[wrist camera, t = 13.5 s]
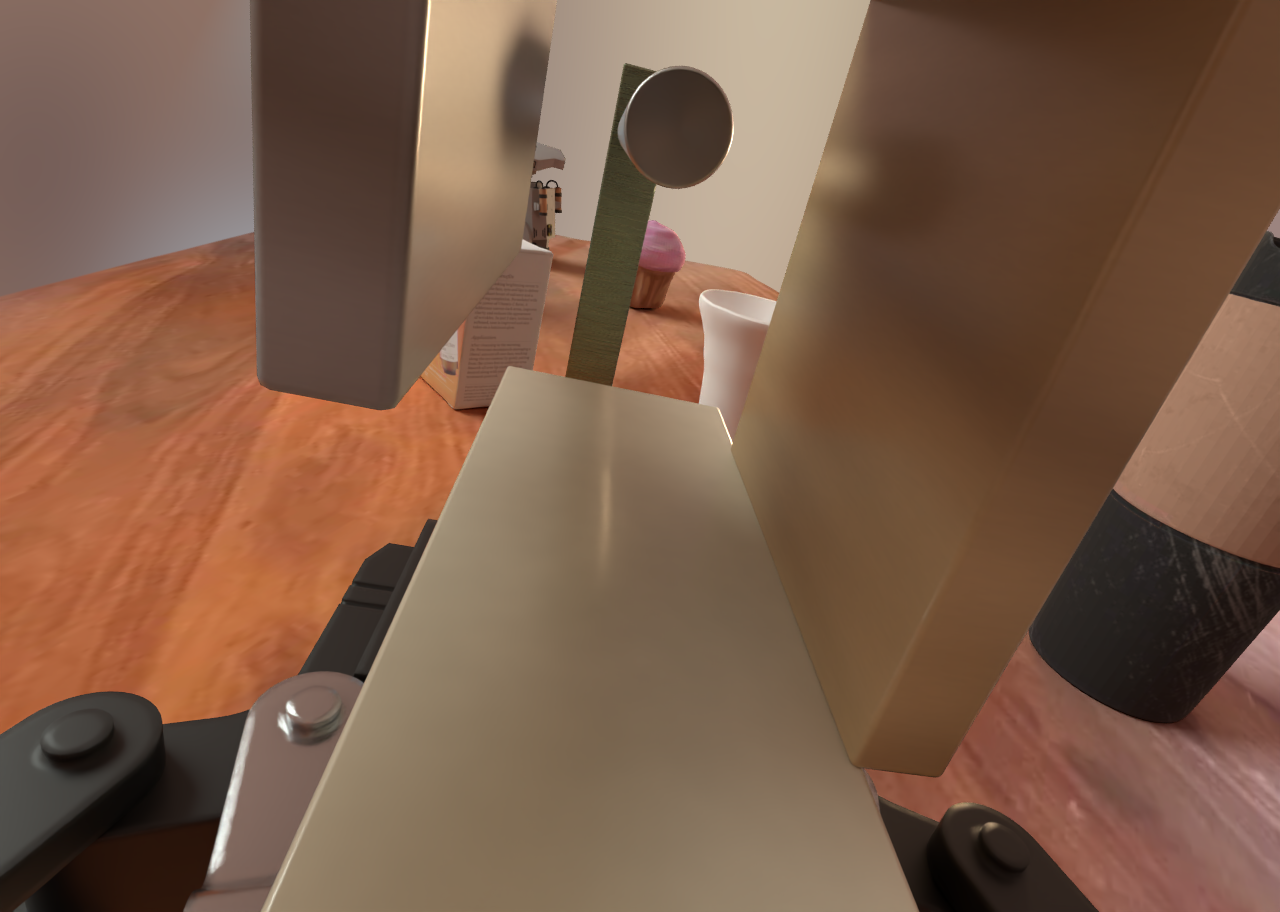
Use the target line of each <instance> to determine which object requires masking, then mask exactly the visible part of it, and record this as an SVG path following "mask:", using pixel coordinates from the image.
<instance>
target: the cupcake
mask: <svg viewBox="0 0 1280 912" xmlns="http://www.w3.org/2000/svg"><path fill="white" fill-rule="evenodd" d="M684 262H685V251H684V249H683V246H682V243H681V241H680V239H679V237H678V236H677V234H676V233H675V232H674V231H673V230H672V229H670V228H668V227H666V226H664V225H662V224H660V223H658V222H657V221H654V220H652V221H648V225H647V229H646V234H645V238H644V243H643V247H642V252H641V256H640V261H639V266H638V270H637V275H636V279H635V284H634V288H633V293H632V297H631V302H630V306H631V307H634V308H653V309H656V308H659V307H661V306H662V304H663V302H664V300H665V297H666V294H667V290H668V287H669V285H670V282H671V280H672V279H673V276H674V274H675V272H678V271H679V270H681V268H682V266H683V264H684Z"/></svg>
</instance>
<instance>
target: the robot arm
mask: <svg viewBox="0 0 1280 912" xmlns="http://www.w3.org/2000/svg"><path fill="white" fill-rule="evenodd" d="M437 521H438V520H432V519H428V520H427V522H426V524H425V526H424V528H423V530H422V532H421V534H420V536H419V538H418V541H417V543H416V545H415V547H410V546H403V545H397V544H391V543H389V544H387V545H386V546H384V547H383V548H381V549H380V550H378V551H377V552H375V553H374V554H372V555H371V556H369V557H368V558H367V559H365V561H364V562H363V564H362V566H361V567H360V569H359V571H358V573H357V574H356V576H355V578H354V579H353V582H352V585H350V586H349V588H348V590H347V591H346V593H345V595H344V597H343V598H342V602H341V604H339V605H338V607H337V609H336V610H335V612H334V614H333V616H332V617H331V619H330V621H329V622H328V624H327V626H326V628H325V629H324V631H323V633H322V634H321V636H320V638H319V640H318V641H317V643H316V645H315V646H314V648H313V650H312V652H311V653H310V655H309V657H308V659H307V660H306V662H305V664H304V665H303V667H302V669H301V671H300V672H299V674H298V675H297V676H294V677H291V678H288V679H286V680H284V681H282V682H280V683H278V684H276V685H275V686H273V687H271V688H270V689H268V690H267V691H266V692H265V693H264V694H262V695H261V696H260V697H259V698H258V700H257V701H256V702H255V703H254V704H253V706H252V708H251V709H250V710H247V711H244V712H241V713H237V714H233V715H229V716H223V717H218V718H210V719H201V720H193V721H185V722H177V723H169V724H162V719H161V714H160V713H159V711H158V709H157V707H156V706H155V705H154V704H152V703H151V702H150V701H148V700H147V699H145V698H143V697H141V696H138V695H135V694H131V693H125V692H96V693H90V694H84V695H80V696H76V697H72V698H68V699H66V700H63V701H60V702H57V703H54V704H52V705H50V706H48V707H46V708H44V709H41V710H39V711H38V712H36V713H34V714H32V715H31V716H29V717H27V718H26V719H24V720H23V721H21V722H19V723H18V724H16V725H15V726H13V727H12V728H10V729H8V730H7V731H5V732H4V733H2V734H1V735H0V912H261V909H262V907H263V905H264V903H265V900H266V898H267V896H268V894H269V892H270V889H271V887H272V885H273V883H274V881H275V878H276V876H277V874H278V872H279V870H280V867H281V865H282V863H283V861H284V859H285V856H286V854H287V852H288V850H289V848H290V845H291V843H292V841H293V839H294V837H295V834H296V832H297V830H298V828H299V826H300V823H301V821H302V819H303V817H304V814H305V812H306V810H307V808H308V806H309V803H310V801H311V799H312V797H313V795H314V792H315V790H316V788H317V786H318V784H319V781H320V779H321V777H322V775H323V773H324V770H325V768H326V766H327V764H328V762H329V759H330V757H331V755H332V753H333V751H334V748H335V746H336V744H337V742H338V739H339V737H340V735H341V733H342V731H343V728H344V726H345V724H346V722H347V720H348V717H349V715H350V713H351V711H352V709H353V706H354V704H355V702H356V700H357V698H358V695H359V693H360V691H361V689H362V687H363V684H364V682H365V680H366V678H367V676H368V673H369V671H370V669H371V667H372V664H373V662H374V660H375V658H376V656H377V653H378V651H379V649H380V647H381V645H382V642H383V640H384V638H385V636H386V634H387V631H388V629H389V627H390V625H391V623H392V620H393V618H394V616H395V614H396V612H397V609H398V607H399V605H400V603H401V601H402V598H403V596H404V594H405V592H406V590H407V587H408V585H409V583H410V581H411V578H412V576H413V574H414V572H415V570H416V567H417V565H418V563H419V561H420V559H421V556H422V554H423V552H424V550H425V548H426V545H427V543H428V541H429V539H430V537H431V534H432V532H433V530H434V528H435V526H436V523H437ZM862 769H863V772H864V774H865V777H866V779H867V782H868V784H869V787H870V789H871V792H872V794H873V797H874V799H875V802H876V804H877V807H878V809H879V812H880V814H881V817H882V819H883V822H884V824H885V827H886V829H887V832H888V834H889V837H890V840H891V842H892V845H893V847H894V850H895V852H896V855H897V857H898V860H899V862H900V865H901V867H902V870H903V872H904V875H905V877H906V880H907V882H908V885H909V887H910V890H911V892H912V895H913V897H914V900H915V902H916V905H917V907H918V910H919V912H1099V911H1098V910H1097V909H1096V908H1095V907H1094V906H1093V905H1092V903H1091V902H1090V901H1089V900H1088V899H1087V898H1086V897H1085V896H1084V894H1083V893H1082V892H1081V891H1080V890H1079V889H1078V888H1077V887H1076V885H1075V884H1074V883H1073V882H1072V881H1071V880H1070V879H1069V878H1068V876H1067V875H1066V874H1065V873H1064V872H1063V871H1062V870H1061V869H1060V867H1059V866H1058V865H1057V864H1056V863H1055V862H1054V861H1053V859H1052V858H1051V857H1050V856H1049V855H1048V854H1047V853H1046V852H1045V850H1044V849H1043V848H1042V847H1041V846H1040V845H1039V844H1038V843H1037V841H1036V840H1035V839H1034V838H1033V837H1032V836H1031V835H1030V834H1029V833H1028V832H1027V831H1025V830H1024V829H1023V828H1022V827H1021V826H1020V825H1018V824H1017V823H1016V822H1014V821H1013V820H1011V819H1010V818H1008V817H1007V816H1005V815H1004V814H1002V813H1000V812H998V811H996V810H994V809H992V808H989V807H987V806H984V805H980V804H976V803H967V802H965V803H958V804H955V805H953V806H951V807H950V808H949V809H948V810H947V811H946V813H945V815H944V816H943V818H942V819H941V821H940V822H937V821H935V820H932V819H930V818H928V817H925V816H923V815H920V814H918V813H916V812H913V811H911V810H908V809H906V808H904V807H901V806H899V805H896V804H894V803H892V802H890V801H888V800H886V799H884V798H882V797H880V796H879V795H877V791H876V788H875V786H874V783H873V781H872V780H871V778H870V776H869V774H868V773H867V772H866V771H865V769H864V768H862Z"/></svg>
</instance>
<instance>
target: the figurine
mask: <svg viewBox="0 0 1280 912" xmlns="http://www.w3.org/2000/svg"><path fill="white" fill-rule="evenodd" d="M564 164H565V157H564V155H563V154H562V152H561V150H559V149H556V148H553V147H550V146H547V145H544V144H540V143H536V150H535V156H534V163H533V170H532V175H533V174H536V171H539V170H542V169H546V168H550V167H554V168H558V169H562V170H563V168H564ZM531 178H532V177H531ZM551 181H552V182H555V183H556V185H557V187H556V188H550V187H548V186H547V185H548V183H549V182H551ZM555 213H562V210H561V188H560V187H558V184H557V182H556V181H554V180H550V181H548V182H547V184H546V186H545V187H543V183H542V182H541V181H537V182H531V184H530V191H529V198H528V205H527V212H526V219H525V226H524V232H523V240H525V241H527V242H529V243H531V244H534V245H536V246H538V247H540V248H544V249H547V250H549V247H548V243H549V239H551V238H554V237H555Z"/></svg>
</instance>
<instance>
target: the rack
mask: <svg viewBox="0 0 1280 912" xmlns="http://www.w3.org/2000/svg"><path fill="white" fill-rule="evenodd" d="M732 137H733V115H732V110H731V106H730V103H729V101H728V98H727V96H726V94H725V93H724V91H723V89H722V88H721V87H720V85H719V84H718V83H717V82H716V81H715V80H714V79H713V78H712V77H710V76H709V75H708V74H706V73H704V72H702V71H700V70H698V69H695V68H692V67H687V66H672V67H668V68H664V69H662V70H659V71H653V70H649V69H645V68H642V67H638V66H635V65H631V64H627V63H625V64H624V67H623V72H622V77H621V83H620V88H619V94H618V99H617V105H616V110H615V115H614V121H613V126H612V131H611V136H610V142H609V148H608V152H607V158H606V163H605V168H604V174H603V179H602V184H601V190H600V195H599V201H598V206H597V211H596V216H595V222H594V227H593V233H592V238H591V243H590V248H589V254H588V259H587V264H586V270H585V275H584V280H583V286H582V291H581V296H580V302H579V307H578V312H577V318H576V323H575V328H574V334H573V339H572V344H571V350H570V355H569V360H568V366H567V371H566V376H565V377H567V378H572V379H577V380H582V381H587V382H592V383H597V384H602V385H607V386H612V384H613V379H614V375H615V370H616V365H617V361H618V356H619V352H620V347H621V343H622V338H623V334H624V329H625V325H626V320H627V316H628V311H629V306H630V302H631V297H632V293H633V288H634V284H635V279H636V275H637V270H638V266H639V261H640V256H641V252H642V247H643V243H644V238H645V234H646V229H647V225H648V220H649V216H650V211H651V206H652V202H653V197H654V193H655V188H656V184H657V185H660V186H663V187H667V188H673V189H680V188H687V187H691V186H695V185H696V184H699V183H701V182H703V181H705V180H706V179H707V178H709V177H710V176H711V175H712V174H714V173H715V171H717V169H718V168H719V167H720V165H721V164H722V163H723V161H724V159H725V158H726V156H727V153H728V151H729V148H730V145H731V142H732Z"/></svg>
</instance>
